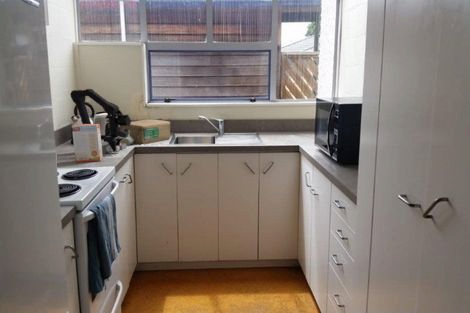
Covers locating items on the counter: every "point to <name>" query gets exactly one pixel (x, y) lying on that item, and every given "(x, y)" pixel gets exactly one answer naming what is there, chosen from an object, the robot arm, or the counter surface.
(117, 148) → the cartridge
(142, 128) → the paper package
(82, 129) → the cracker box
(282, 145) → the counter surface
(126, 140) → the air freshener
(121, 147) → the button collar
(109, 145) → the housing
